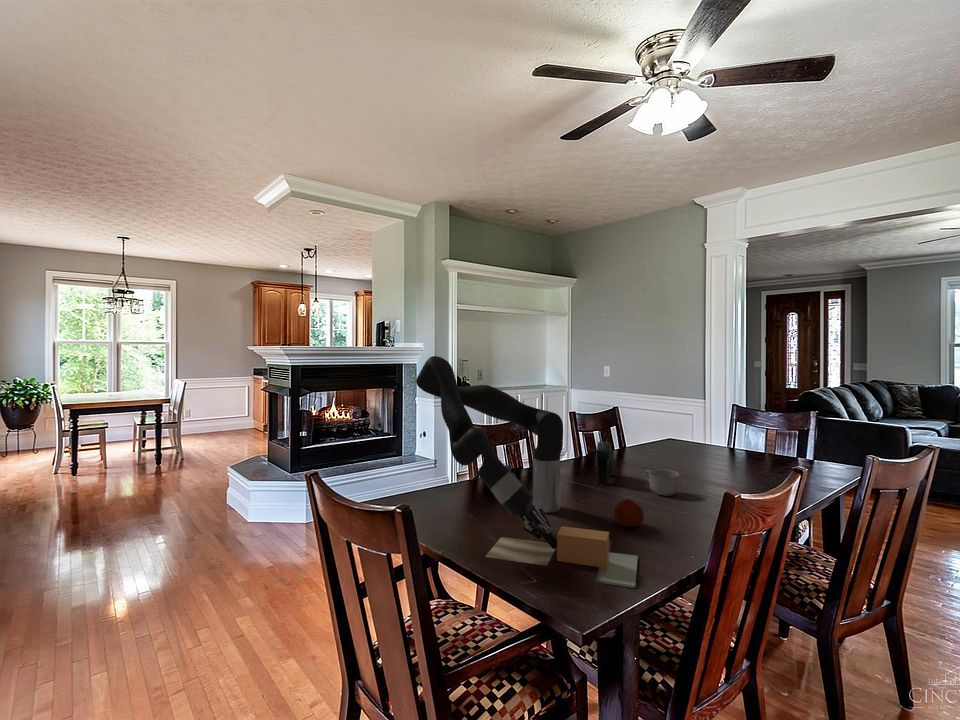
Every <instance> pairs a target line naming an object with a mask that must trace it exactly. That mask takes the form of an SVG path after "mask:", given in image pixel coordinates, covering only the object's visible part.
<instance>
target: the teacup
mask: <svg viewBox="0 0 960 720" xmlns="http://www.w3.org/2000/svg"><path fill="white" fill-rule="evenodd" d="M643 476H644V478H645V479H646V481H647V482H648V483H649V488H650V490H651V491H652V492H654V493H655V494H656V495H659V496H661V495H663V496H664V497H670V496H674V495H675V494H676V493H678V491H679V489H680V477H681V476H680V473H679V472H677V471H674V470H671V469H661V468H660V469H654V470H652V469H646V470H645V471H644V475H643ZM663 496H662V497H663Z"/></svg>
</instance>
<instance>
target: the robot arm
mask: <svg viewBox="0 0 960 720" xmlns="http://www.w3.org/2000/svg"><path fill="white" fill-rule="evenodd" d="M418 373H419V374H418V375H417V377H416V380H415V382H416V385H417V387H418V388H419V389H420V390H421V391H423V392H425V393H427V394H428V395H432V396H434V397H438V398H440V409H441V416H442V419H443V421H444V423H445V425H446V427H447V430H448V434H449V435H448V436H449V445H450V446H449V447H450V452H451V454H452V457H453V459H454V460H455V461H456V462H457V463H458V464H459V465H461V466H465V467H466V466H470V465H471V464H473V463H474V462H475V461H476V460H477V459H478V458H479V457H480V456H481V455H482V459H483V462H482V464H481V465H480V467H479V468H478V470H477V475H478V477H479V479H480V480H482V482H483V483H484V484H485V485H486V486H487V488H488V489H489V490H490V491H491V493H492V494H493V496H494V498H495V499H496V500H497V501H498V502H499V503H500V504H501V505H502V507H503V508H504V509H505V510H506V511H507V513H508V514H509V515H510V516H511V517H516V516H517V515H518V517H519V518H520V520H521V521H522V523H523V524H524V525H525V526H524V527H523V530H524V531H525V532H526V533H528V534H530V535H532V536H533V537H535V538H536V539H538V540H541V539H542V540H543V539H544V540H545V543H548V544H549V545H550V546H551V547H552V548H553V549H555V548H556V549H557V535H555V534H554V533H553V532H552V528H551V526H552V525H551V523H550V521H549V520H548V517H547V515H546V514H545V513H547V514H548V513H549V514H550V513H556V512H559V511H560V510H561V453H562V452H563V448H564V447H563V446H564V445H563V444H564V424H563V419H562V418H561V416H560V415H559V414H558V413H557V412H556V413H555V412H553V411H549V410H545V409H540V408H537V407H534V406H530V405H528V404H525V403H523V402H521V401H519V400H518V399H516V398H515V397H513V396H512V395H511V394H509V393H507V392H505V391H503V390H500V389H499V388H497V387H494V386H491V385H488V384H479V385H477V384H476V385H469V386H468V385H467V386H458V382H457V380H456V376H455V372H454V369H453V367H452V365H451V364H450V362H449V361H448V360H446V359H445V358H443V357H441V356H437V355H432V356H429V358H427V360H426V361H425V363H424V365H423V367H421V369H420V372H418ZM466 407H467V408H470V409H472V410H474V411H477V412H479V413H482V414H484V415H486V416H488V417H490V418H491V417H492V418H494V419H496V420H501V421H503V422H509V423H512V424H515V425H518V426H520V427H522V428H523V429H526V430H527V431H529V432H531V433H532V434H534V435H535V436H537V444H536V448H534V449H533V450H532V494H531V493H530V491H529V489H527V488H526V487H525V486H524V485H523V484H522V482H521V481H520V480H519V479H518V478H516V477H515V476H514V475H513V474H512V473H511V472H512V471H511V472H509V470H508V469H507V468H506V467H505V464H504V463H503V462H502V461H501V459H500V458H499V457H498V455H497V453H496V451H495V450H494V448H493V446H492V443H491V441H490V439H489V437H488V436H487V434H486V432H485V431H483V430H482V429H480V428H478V427H473V425H474V424H473V422H472V418H471V417H470V414H469V413H468V411H467V409H466ZM556 549H555V550H556Z"/></svg>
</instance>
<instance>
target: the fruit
mask: <svg viewBox="0 0 960 720" xmlns="http://www.w3.org/2000/svg"><path fill="white" fill-rule="evenodd" d="M612 513H613V514H612V515H613V519H614V520H615V521H616V522H617V523H618V525H621V526H622V527H626V528H635V527H638V526H641V524H642V523H643V522H644V520H645V519H644V518H645V515H644V509H643V508H642V507H641V505H639V504H638V503H636V502H635V501H633V500H632V499H623V500H621V501H619V502H618V503H616V504H615V506H614V508H613V512H612Z"/></svg>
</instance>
